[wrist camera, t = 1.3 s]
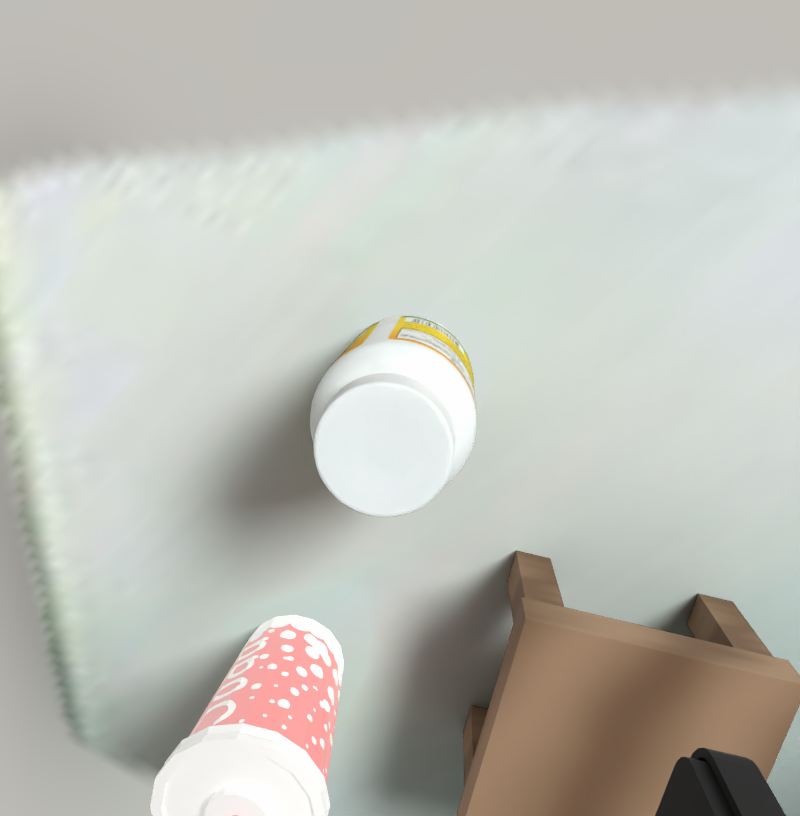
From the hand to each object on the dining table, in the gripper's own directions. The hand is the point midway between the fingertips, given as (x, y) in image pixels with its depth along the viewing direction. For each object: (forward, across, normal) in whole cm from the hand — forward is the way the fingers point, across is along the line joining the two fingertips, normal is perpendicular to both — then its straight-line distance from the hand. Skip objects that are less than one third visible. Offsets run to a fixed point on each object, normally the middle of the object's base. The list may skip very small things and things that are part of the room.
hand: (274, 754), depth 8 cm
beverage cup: (+22, +2, +14) cm, 26 cm away
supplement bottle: (+22, 0, 0) cm, 22 cm away
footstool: (+21, -11, +11) cm, 27 cm away
